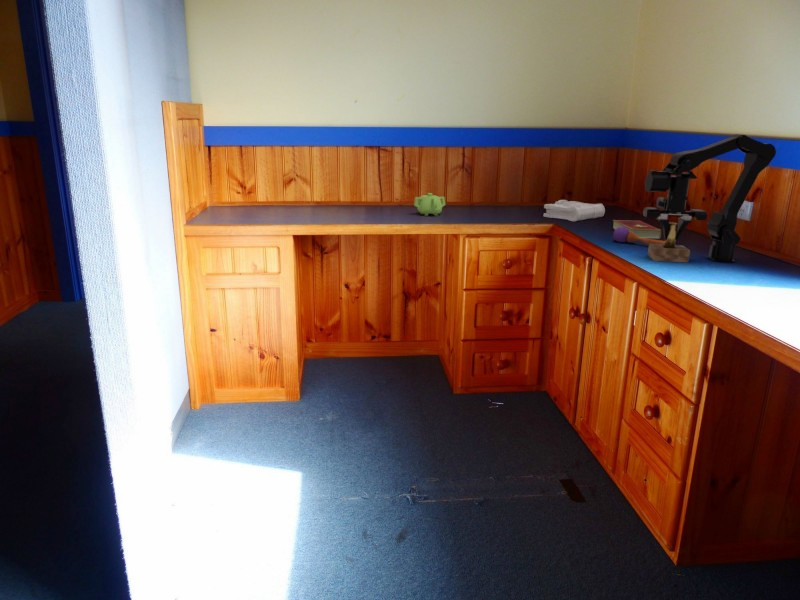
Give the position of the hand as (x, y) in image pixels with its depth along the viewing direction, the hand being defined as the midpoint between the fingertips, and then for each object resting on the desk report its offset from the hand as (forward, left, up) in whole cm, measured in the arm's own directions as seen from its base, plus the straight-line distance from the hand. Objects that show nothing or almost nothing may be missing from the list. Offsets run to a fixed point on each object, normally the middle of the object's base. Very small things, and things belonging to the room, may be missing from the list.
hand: (670, 239), depth 205 cm
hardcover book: (+1, -47, -7) cm, 47 cm away
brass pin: (0, 0, -2) cm, 2 cm away
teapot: (+87, -69, -7) cm, 111 cm away
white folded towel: (+19, -84, -7) cm, 87 cm away
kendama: (+5, -22, -7) cm, 23 cm away
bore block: (0, 0, -6) cm, 7 cm away
